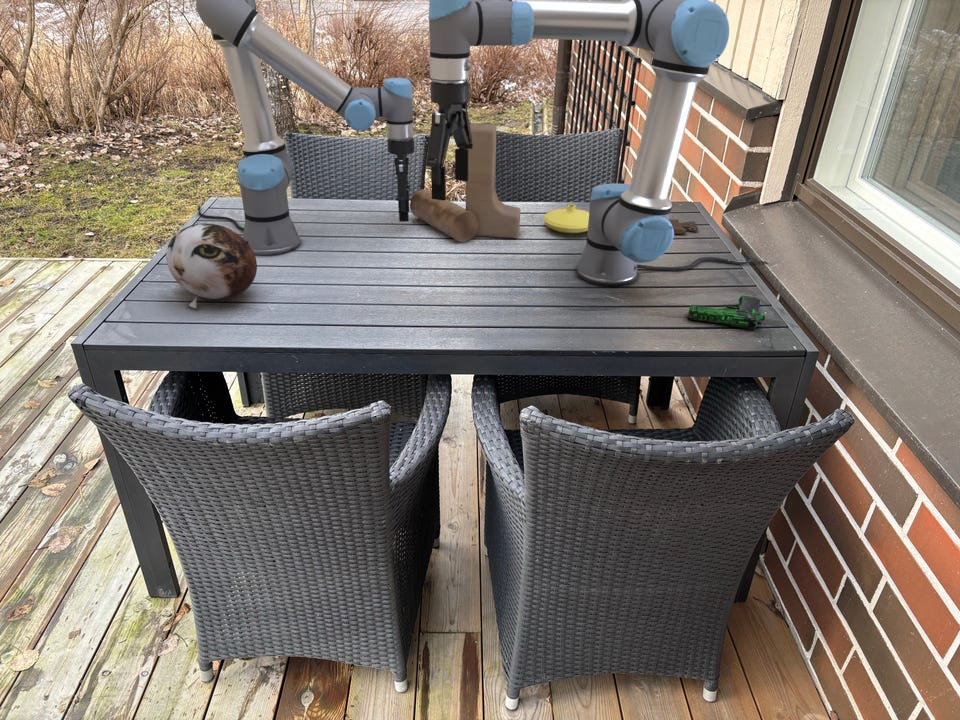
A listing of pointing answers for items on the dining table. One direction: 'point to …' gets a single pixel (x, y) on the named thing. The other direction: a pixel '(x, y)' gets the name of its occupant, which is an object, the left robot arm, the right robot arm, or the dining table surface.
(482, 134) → the decorative block
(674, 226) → the brown jagged flat piece
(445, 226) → the rod
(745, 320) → the handgun
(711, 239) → the dining table surface
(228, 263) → the cat face balloon
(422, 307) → the dining table surface
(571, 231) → the yellow lid
